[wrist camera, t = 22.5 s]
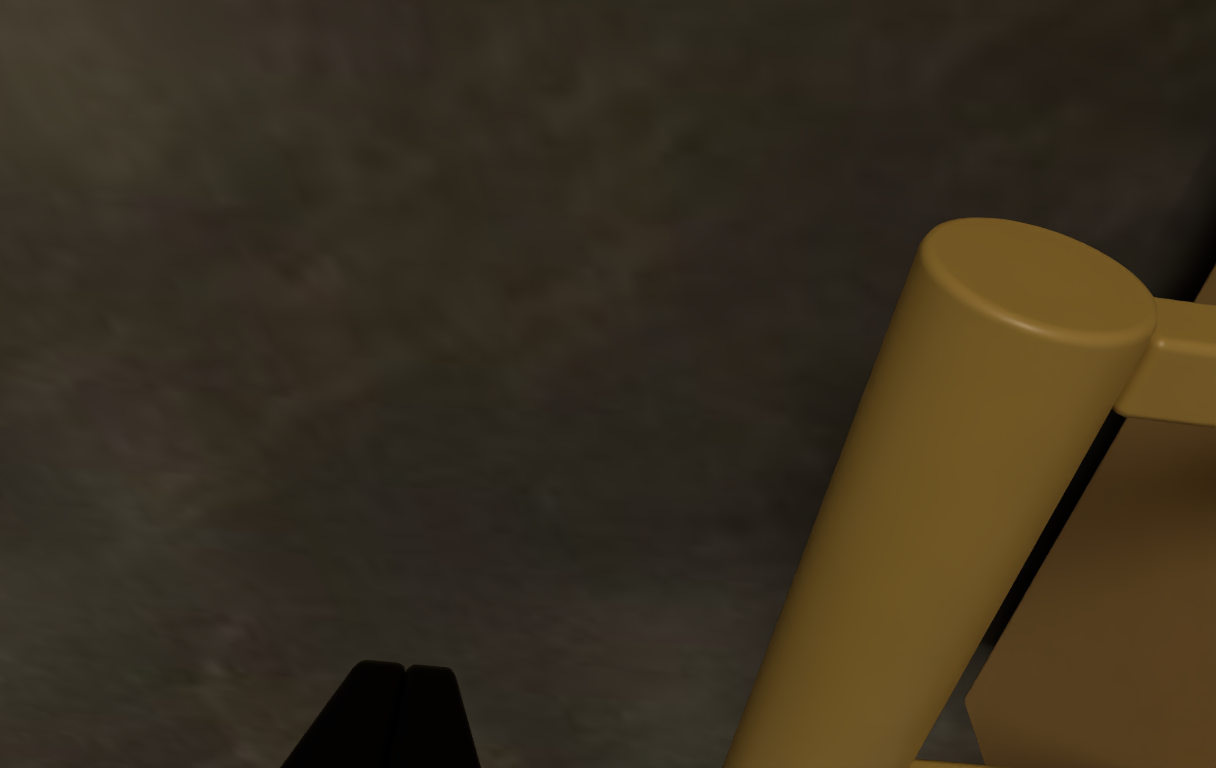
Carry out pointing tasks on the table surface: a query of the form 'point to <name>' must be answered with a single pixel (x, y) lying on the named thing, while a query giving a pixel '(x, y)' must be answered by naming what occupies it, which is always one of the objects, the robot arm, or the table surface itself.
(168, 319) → the table surface
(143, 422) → the table surface
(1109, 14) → the table surface
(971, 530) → the drawer
